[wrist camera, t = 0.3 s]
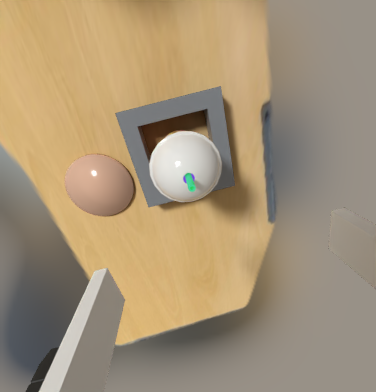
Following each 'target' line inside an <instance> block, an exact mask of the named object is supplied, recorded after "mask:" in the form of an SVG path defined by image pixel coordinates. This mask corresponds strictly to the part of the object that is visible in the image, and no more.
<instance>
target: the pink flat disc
mask: <svg viewBox="0 0 376 392" xmlns="http://www.w3.org/2000/svg"><path fill="white" fill-rule="evenodd" d="M65 187H66V191H67V193H68V195H69V197H70V199H71V200H72V201H73V202H74V203H75V204H76V205H77V206H78V207H79V208H80V209H82V210H83V211H85V212H87V213H90V214H93V215H98V216H110V215H114V214H117V213H119V212H121V211H122V210H124V209H125V208H126V207H127V206H128V204H129V203H130V201H131V199H132V196H133V191H134V186H133V181H132V178H131V175H130V174H129V172H128V170H127V169H126V168H125V167H124V166H123V165H122V164H121V163H120V162H118V161H117V160H115V159H113V158H111V157H109V156H106V155H101V154H90V155H85V156H83V157H80V158H78V159H77V160H75V161H74V162H73V163H72V164H71V165H70V166H69V168H68V170H67V172H66V175H65Z"/></svg>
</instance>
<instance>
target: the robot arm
mask: <svg viewBox="0 0 376 392" xmlns="http://www.w3.org/2000/svg"><path fill="white" fill-rule="evenodd" d="M328 247H329V248H328V249H330V250H331V251H332V252H333V253H334V254H335V255H337V256H338V257H339V258H340V259H341V260H342V261H344V262H345V263H346V264H347V265H348V266H349V267H350V268H352V269H353V270H354V271H355V272H356V273H358V274H359V275H360V276H361V277H362V278H363V279H365V280H366V281H367V282H368V283H369V284H371V286H373V287H374V288H375V289H376V224H374V223H372V222H370V221H369V220H367V219H365V218H363V217H361V216H359V215H358V214H356V213H354V212H352V211H350V210H348V209H347V208H345V207H344V208H340V209H337V210H332V211H331V221H330V234H329V246H328ZM124 302H125V299H124V297H123V295H122V294H121V292H120V290H119V288H118V286H117V284H116V283H115V281H114V279H113V277H112V275H111V273H110V272H109V270H108V268H105V269H101V270H97V271H94V273H93V276H92V278H91V280H90V282H89V284H88V286H87V289H86V291H85V293H84V295H83V297H82V299H81V302H80V304H79V306H78V308H77V310H76V312H75V315H74V317H73V319H72V321H71V324H70V325H69V328H68V330H67V332H66V334H65V337H64V338H63V341H62V343H61V345H60V347H58V348H54V349H51V350H50V352H49V353H48V354H47V355H46V357H45V358H44V359H43V361H42V362H41V363H40V364H39V366H38V369H37V370H36V373H35V374H34V376H33V378H32V380H31V384H30V385H29V386H28V388H27V390H26V392H104V389H105V384H106V380H107V375H108V372H109V367H110V363H111V358H112V353H113V350H114V345H115V341H116V337H117V332H118V328H119V324H120V319H121V315H122V311H123V306H124Z"/></svg>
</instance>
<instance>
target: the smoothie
mask: <svg viewBox="0 0 376 392" xmlns="http://www.w3.org/2000/svg"><path fill="white" fill-rule="evenodd" d="M149 169H150V177H151V179H152V181H153V184H154V186H155V187H156V188H157V189H158V191H159V192H160V193H161V194H162V195H164V196H166V197H167V198H169V199H171V200H174V201H178V202H192V201H195V200H198V199H201V198H203V197H204V196H206V195H207V194H209V193H210V192H211V191H212V190H213V188H214V187H215V186H216V185H217V183H218V181H219V178H220V175H221V169H222V161H221V157H220V153H219V151H218V149H217V148H216V146H215V145H214V143H213V142H212V141H211V140H209V139H208V138H207V137H205V136H204V135H202V134H199V133H196V132H193V131H184V130H176V131H173V132H171V133H169V134H168V135H167V136H166V137H165V138H164V139H163V140H162V141H160V142H159V143H158V145H157V146H156V148H155V149H154V151H153V152H152V155H151V159H150V163H149Z"/></svg>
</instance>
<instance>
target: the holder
mask: <svg viewBox="0 0 376 392" xmlns="http://www.w3.org/2000/svg"><path fill="white" fill-rule="evenodd" d="M200 110H204V114H205V119H206V125H207V130H208V136H209V140H211V141H212V142H213V143H214V145H215V146H216V148H217V149H218V151H219V153H220V157H221V161H222V169H221V175H220V178H219V181H218V183H217V185H216V186H215V187H214V188H213V190H212V191H216V190H220V189H224V188H227V187H231V186H235V181H234V174H233V167H232V161H231V154H230V147H229V140H228V133H227V126H226V119H225V112H224V105H223V98H222V91H221V86H220V87H216V88H212V89H208V90H204V91H200V92H196V93H192V94H188V95H185V96H181V97H177V98H173V99H169V100H165V101H161V102H157V103H153V104H149V105H146V106H142V107H138V108H134V109H130V110H126V111H122V112H118V113H115V114H116V117H117V120H118V122H119V125H120V128H121V131H122V134H123V136H124V139H125V142H126V145H127V148H128V151H129V153H130V156H131V159H132V162H133V165H134V167H135V170H136V173H137V176H138V179H139V181H140V184H141V187H142V190H143V193H144V196H145V198H146V201H147V204H148V207H152V206H156V205H160V204H164V203H168V202H172V201H174V200H171V199H169V198H167V197H166V196H164V195H162V194H161V193H160V192H159V191H158V189H157V188H156V187H155V186H154V184H153V181H152V179H151V177H150V169H149V163H150V159H151V157H150V154H149V151H148V148H147V145H146V142H145V138H144V135H143V132H142V129H141V126H142V125H145V124H149V123H153V122H157V121H161V120H165V119H169V118H173V117H177V116H181V115H185V114H188V113H192V112H196V111H200ZM212 191H211V192H212Z"/></svg>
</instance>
